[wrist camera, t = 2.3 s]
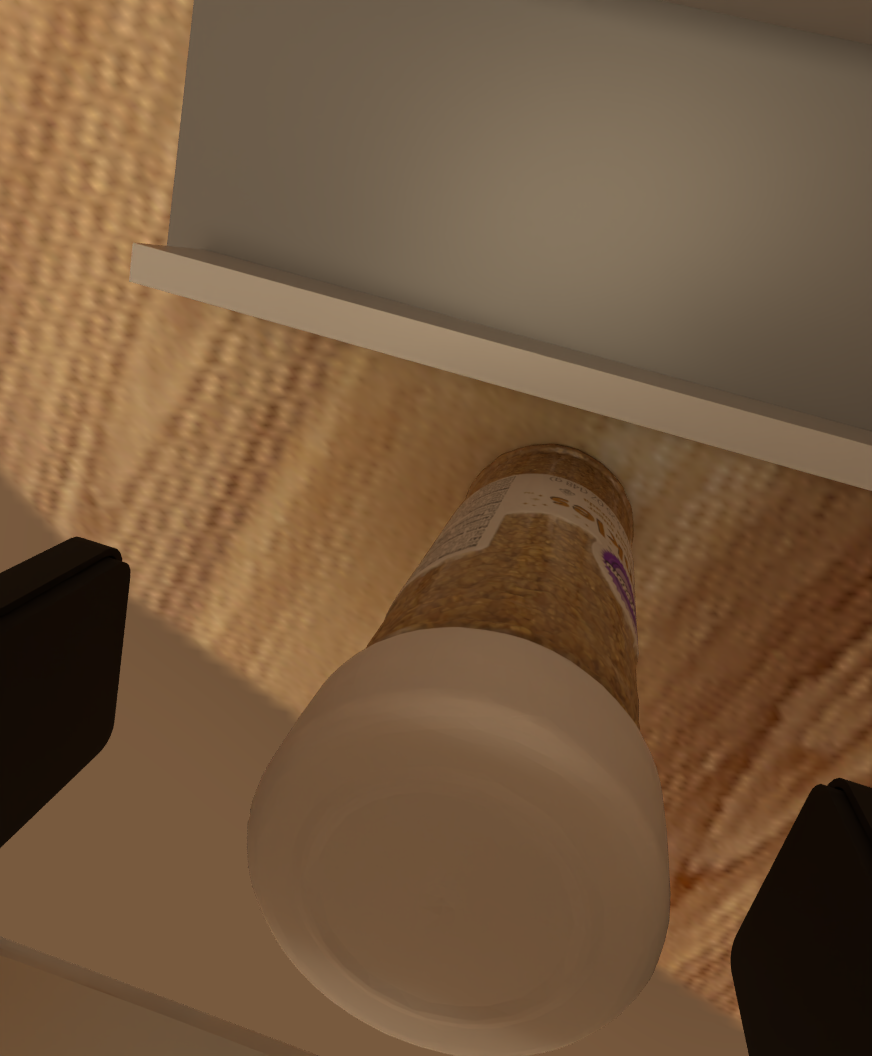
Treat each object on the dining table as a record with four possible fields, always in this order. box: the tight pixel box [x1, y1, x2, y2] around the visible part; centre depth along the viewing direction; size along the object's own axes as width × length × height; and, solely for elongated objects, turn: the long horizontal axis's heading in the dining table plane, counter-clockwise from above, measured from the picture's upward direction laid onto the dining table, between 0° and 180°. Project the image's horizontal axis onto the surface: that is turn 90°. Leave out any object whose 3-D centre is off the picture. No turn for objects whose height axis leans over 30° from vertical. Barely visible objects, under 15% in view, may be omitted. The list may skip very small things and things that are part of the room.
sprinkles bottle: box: [247, 444, 670, 1056], centre depth 14 cm, size 5×5×13 cm
